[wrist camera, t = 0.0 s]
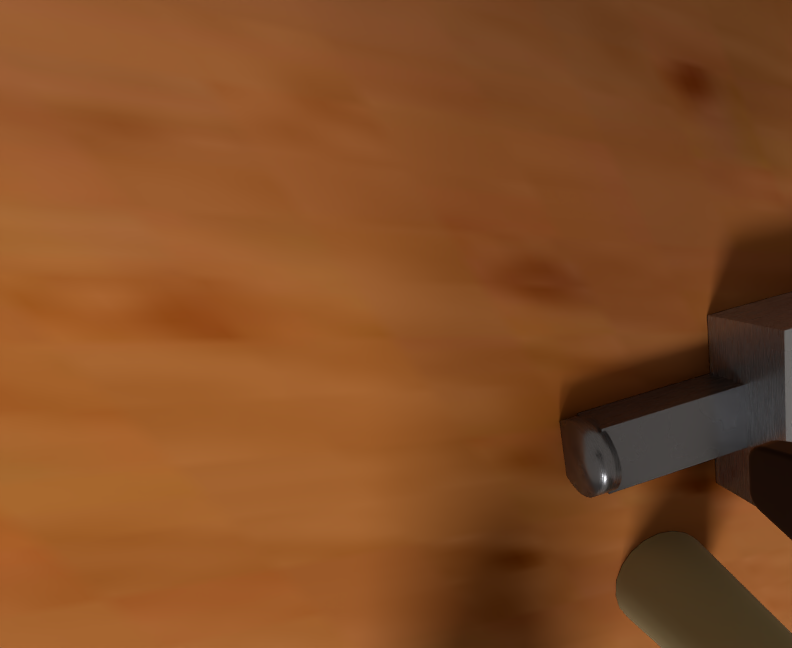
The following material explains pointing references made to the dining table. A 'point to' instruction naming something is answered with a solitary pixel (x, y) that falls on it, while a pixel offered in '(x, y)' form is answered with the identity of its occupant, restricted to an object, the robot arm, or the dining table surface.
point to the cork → (692, 598)
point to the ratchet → (695, 410)
